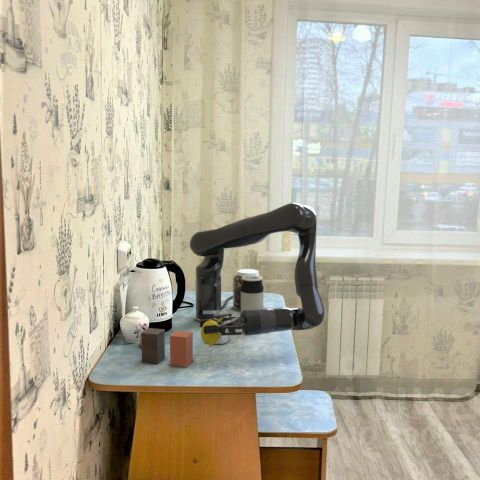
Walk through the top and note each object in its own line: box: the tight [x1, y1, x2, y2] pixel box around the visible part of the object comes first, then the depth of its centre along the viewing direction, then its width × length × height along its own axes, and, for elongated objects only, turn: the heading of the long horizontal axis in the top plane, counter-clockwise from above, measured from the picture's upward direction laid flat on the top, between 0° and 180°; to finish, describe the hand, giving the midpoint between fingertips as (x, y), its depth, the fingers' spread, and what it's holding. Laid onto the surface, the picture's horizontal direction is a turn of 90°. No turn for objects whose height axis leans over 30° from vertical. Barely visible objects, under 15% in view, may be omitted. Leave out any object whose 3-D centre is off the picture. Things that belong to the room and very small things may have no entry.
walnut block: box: [140, 327, 166, 365], centre depth 177 cm, size 5×5×9 cm
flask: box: [213, 310, 229, 345], centre depth 195 cm, size 7×7×10 cm
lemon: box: [200, 319, 220, 347], centre depth 172 cm, size 6×6×8 cm
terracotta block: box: [169, 330, 194, 368], centre depth 175 cm, size 5×5×9 cm
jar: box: [232, 268, 264, 312], centre depth 235 cm, size 12×12×15 cm
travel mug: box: [240, 275, 265, 313], centre depth 211 cm, size 8×8×18 cm
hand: (201, 326), depth 171 cm, fingers closed on lemon, 5 cm apart
